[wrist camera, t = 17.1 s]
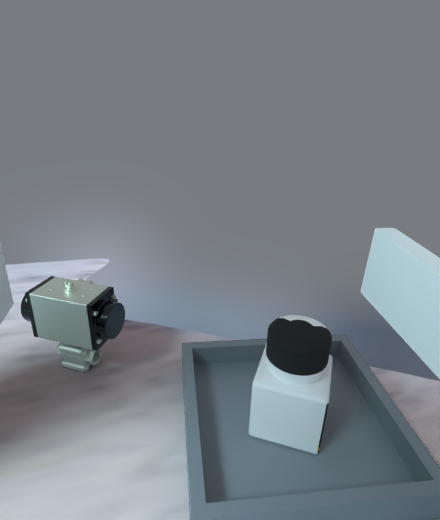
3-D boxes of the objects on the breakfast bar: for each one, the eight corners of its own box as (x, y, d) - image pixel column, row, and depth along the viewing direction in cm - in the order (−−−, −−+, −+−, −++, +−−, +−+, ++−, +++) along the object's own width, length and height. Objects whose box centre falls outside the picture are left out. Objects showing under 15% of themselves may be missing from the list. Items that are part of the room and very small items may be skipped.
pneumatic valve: (111, 384, 47) (101, 299, 42) (31, 364, 50) (12, 282, 45) (133, 356, 52) (126, 277, 47) (59, 339, 54) (45, 263, 49)
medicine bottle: (318, 456, 37) (338, 358, 32) (247, 436, 39) (255, 340, 34) (323, 404, 43) (340, 314, 38) (262, 389, 45) (270, 301, 40)
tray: (191, 547, 31) (191, 520, 29) (182, 364, 50) (182, 343, 49) (444, 518, 33) (456, 491, 32) (341, 355, 53) (345, 334, 52)
